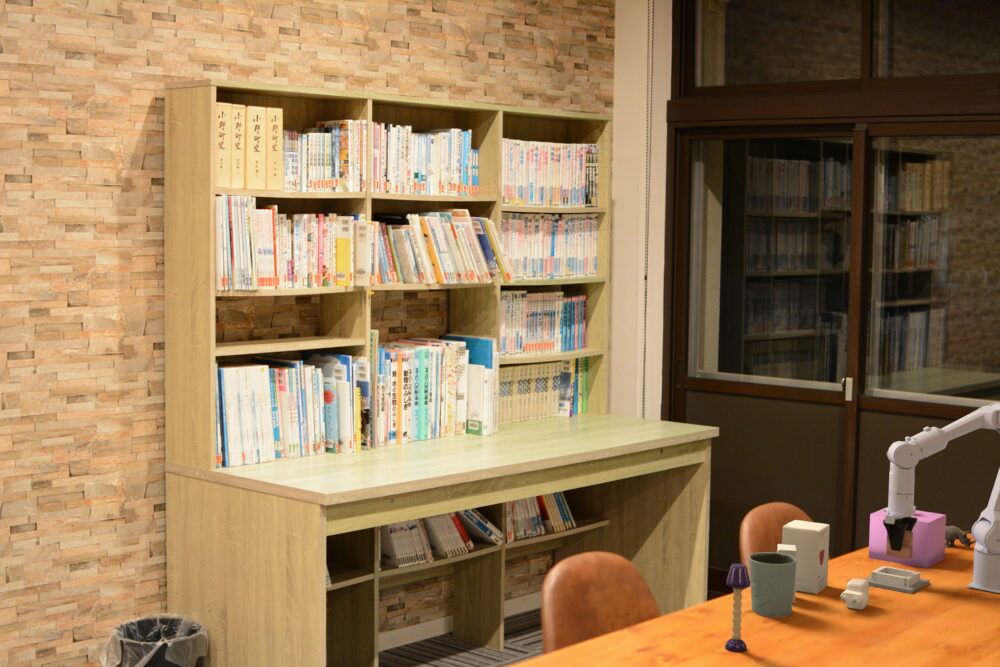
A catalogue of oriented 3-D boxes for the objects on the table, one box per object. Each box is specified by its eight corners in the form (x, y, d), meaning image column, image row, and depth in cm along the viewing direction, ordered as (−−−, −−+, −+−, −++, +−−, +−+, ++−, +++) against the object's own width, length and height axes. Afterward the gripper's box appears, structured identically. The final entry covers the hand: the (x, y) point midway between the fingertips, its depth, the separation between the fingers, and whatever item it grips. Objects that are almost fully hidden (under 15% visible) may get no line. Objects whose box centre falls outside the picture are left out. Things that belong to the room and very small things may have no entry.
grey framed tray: (880, 574, 291) (881, 562, 291) (929, 583, 283) (929, 571, 283) (861, 584, 282) (861, 572, 281) (911, 593, 274) (911, 581, 274)
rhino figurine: (972, 553, 314) (973, 530, 314) (921, 544, 323) (922, 522, 323) (978, 550, 317) (979, 528, 317) (927, 541, 326) (928, 520, 326)
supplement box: (817, 595, 272) (819, 531, 271) (779, 588, 277) (781, 525, 276) (828, 586, 279) (830, 523, 278) (791, 580, 284) (793, 518, 283)
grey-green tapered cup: (798, 608, 261) (800, 555, 260) (789, 621, 252) (791, 566, 251) (753, 602, 265) (754, 549, 264) (742, 614, 256) (744, 560, 255)
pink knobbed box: (857, 563, 301) (859, 509, 300) (894, 545, 321) (896, 494, 320) (916, 574, 292) (919, 518, 291) (950, 555, 311) (952, 503, 310)
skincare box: (795, 603, 265) (797, 551, 264) (775, 602, 266) (777, 549, 265) (794, 596, 271) (795, 544, 270) (775, 594, 272) (776, 543, 271)
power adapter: (858, 618, 255) (859, 591, 254) (835, 614, 257) (836, 587, 257) (871, 605, 264) (872, 579, 264) (849, 601, 267) (850, 576, 267)
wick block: (891, 553, 284) (892, 528, 283) (912, 556, 281) (913, 531, 280) (886, 555, 281) (887, 531, 281) (906, 559, 278) (908, 534, 278)
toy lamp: (721, 644, 236) (724, 562, 235) (744, 643, 236) (746, 561, 235) (728, 652, 231) (730, 568, 230) (751, 651, 232) (754, 568, 230)
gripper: (896, 485, 288) (893, 540, 289) (873, 494, 277) (871, 551, 278) (924, 489, 284) (922, 545, 285) (903, 498, 272) (900, 556, 273)
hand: (899, 548), depth 281 cm, fingers closed on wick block, 3 cm apart
